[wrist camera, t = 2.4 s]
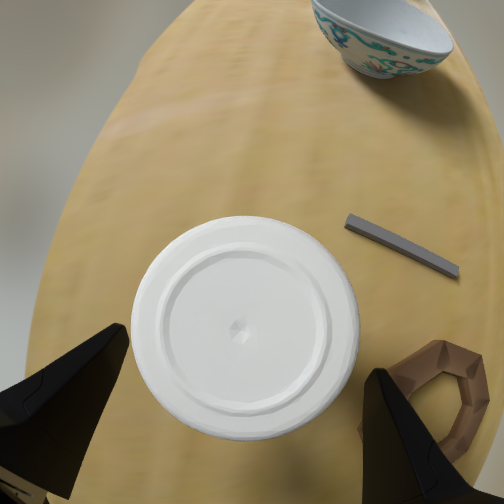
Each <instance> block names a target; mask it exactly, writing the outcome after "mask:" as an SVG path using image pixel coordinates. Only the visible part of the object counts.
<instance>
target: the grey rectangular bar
mask: <svg viewBox="0 0 504 504" xmlns="http://www.w3.org/2000/svg"><path fill="white" fill-rule="evenodd" d="M344 227H345V228H347V229H349V230H352V231H354V232H356V233H359V234H361V235H363V236H365V237H368V238H370V239H372V240H374V241H376V242H379V243H381V244H383V245H385V246H387V247H389V248H392V249H394V250H396V251H398V252H400V253H402V254H404V255H406V256H408V257H410V258H412V259H415V260H417V261H419V262H421V263H423V264H425V265H427V266H429V267H431V268H433V269H435V270H437V271H439V272H441V273H443V274H445V275H446V276H448V277H450V278H455V277H458V272H459V266H457V265H455V264H453V263H451V262H449V261H448V260H446V259H444V258H442V257H440V256H438V255H436V254H434V253H432V252H430V251H429V250H427V249H425V248H423V247H421V246H419V245H417V244H415V243H413V242H411V241H409V240H407V239H405V238H403V237H401V236H398V235H396V234H394V233H392V232H390V231H388V230H386V229H384V228H382V227H379V226H377V225H375V224H373V223H371V222H369V221H366V220H364V219H362V218H360V217H357V216H355V215H353V214H351V213H350V215H349V216H348V217H347V220H346V223H345V226H344Z"/></svg>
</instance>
